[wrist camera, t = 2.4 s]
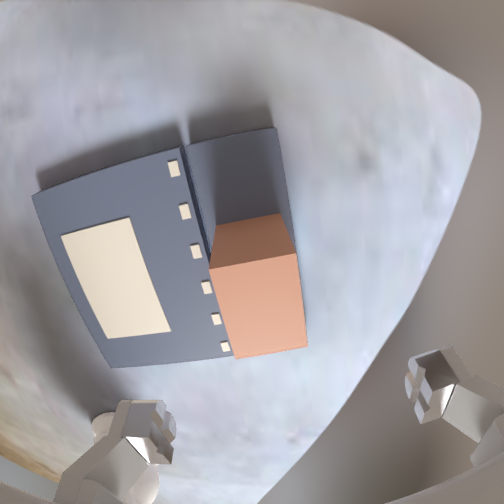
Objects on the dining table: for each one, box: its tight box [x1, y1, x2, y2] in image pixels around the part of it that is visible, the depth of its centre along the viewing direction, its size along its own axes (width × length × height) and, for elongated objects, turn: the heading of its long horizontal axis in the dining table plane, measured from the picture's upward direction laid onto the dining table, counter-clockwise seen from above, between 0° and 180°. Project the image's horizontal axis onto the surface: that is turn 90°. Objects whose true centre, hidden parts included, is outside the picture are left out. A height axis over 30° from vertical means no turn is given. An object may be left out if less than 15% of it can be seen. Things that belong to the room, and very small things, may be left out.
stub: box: [186, 127, 308, 359], centre depth 16 cm, size 5×14×6 cm, turn 11°
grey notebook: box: [32, 146, 234, 368], centre depth 19 cm, size 10×14×1 cm
